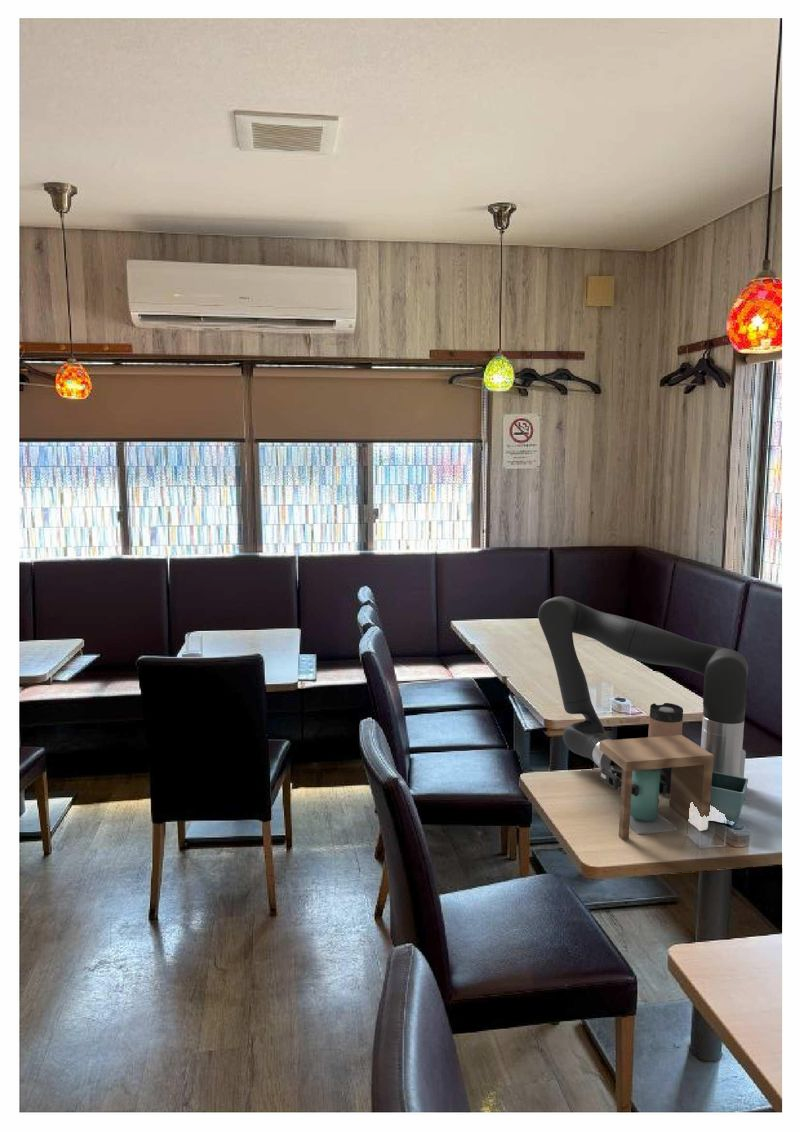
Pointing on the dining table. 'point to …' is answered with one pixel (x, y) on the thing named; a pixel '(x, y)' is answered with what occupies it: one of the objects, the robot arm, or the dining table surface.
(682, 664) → the robot arm
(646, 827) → the mat
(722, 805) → the flower pot
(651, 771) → the teal glossy cylinder
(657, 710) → the travel mug
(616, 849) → the dining table surface
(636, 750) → the brown wooden shelf stand
